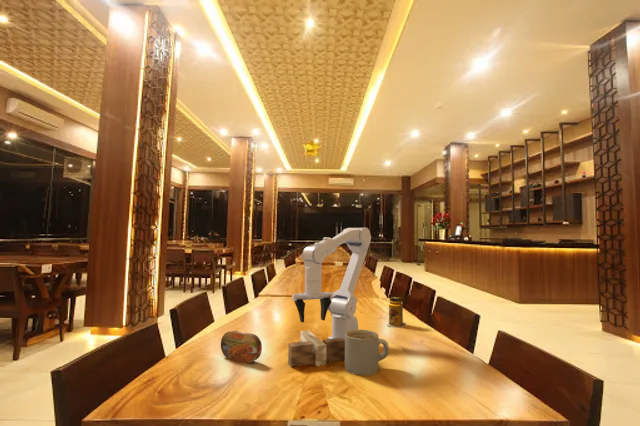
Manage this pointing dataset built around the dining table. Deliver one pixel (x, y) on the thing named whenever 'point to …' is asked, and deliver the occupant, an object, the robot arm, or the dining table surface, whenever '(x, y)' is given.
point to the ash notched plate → (315, 347)
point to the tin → (241, 346)
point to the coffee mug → (363, 352)
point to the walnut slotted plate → (304, 355)
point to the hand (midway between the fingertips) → (312, 320)
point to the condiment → (396, 312)
